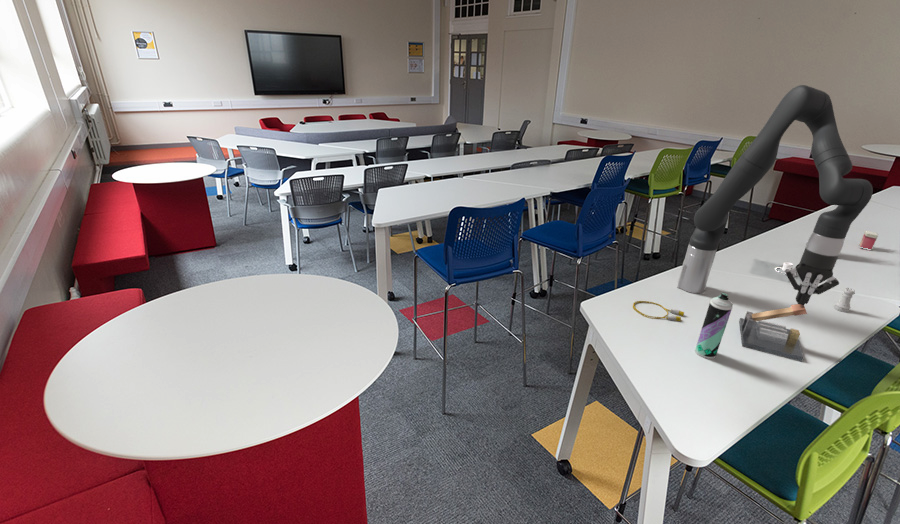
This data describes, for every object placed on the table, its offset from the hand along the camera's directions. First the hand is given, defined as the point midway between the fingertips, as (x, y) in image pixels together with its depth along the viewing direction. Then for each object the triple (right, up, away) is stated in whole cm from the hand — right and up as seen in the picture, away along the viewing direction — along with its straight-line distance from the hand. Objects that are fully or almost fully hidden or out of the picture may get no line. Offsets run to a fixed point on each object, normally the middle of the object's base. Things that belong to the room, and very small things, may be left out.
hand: (800, 303), depth 131 cm
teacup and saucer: (+34, +7, +55) cm, 65 cm away
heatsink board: (-4, -12, +8) cm, 15 cm away
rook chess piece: (+36, -5, +27) cm, 45 cm away
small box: (+96, +19, +82) cm, 128 cm away
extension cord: (-33, -6, +22) cm, 39 cm away
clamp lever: (-4, -4, +4) cm, 7 cm away
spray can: (-28, -15, 0) cm, 32 cm away
